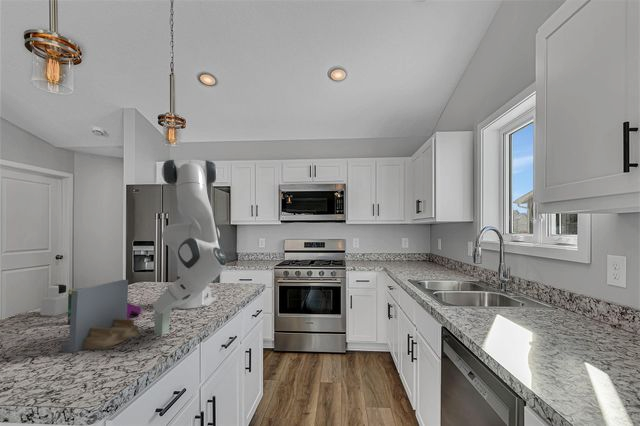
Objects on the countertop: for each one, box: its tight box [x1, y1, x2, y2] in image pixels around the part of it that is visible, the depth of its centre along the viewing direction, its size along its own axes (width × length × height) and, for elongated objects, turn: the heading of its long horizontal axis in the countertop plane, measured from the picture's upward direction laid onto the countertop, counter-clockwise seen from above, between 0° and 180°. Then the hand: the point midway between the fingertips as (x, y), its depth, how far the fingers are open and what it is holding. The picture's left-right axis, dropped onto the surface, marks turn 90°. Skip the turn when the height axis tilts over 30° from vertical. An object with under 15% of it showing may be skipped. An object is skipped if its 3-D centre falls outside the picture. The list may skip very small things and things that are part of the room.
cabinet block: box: [153, 309, 171, 335], centre depth 108 cm, size 4×3×10 cm
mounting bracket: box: [127, 302, 142, 319], centre depth 121 cm, size 10×8×18 cm
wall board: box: [59, 279, 129, 353], centre depth 101 cm, size 20×5×18 cm, turn 172°
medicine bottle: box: [40, 284, 68, 317], centre depth 130 cm, size 7×7×12 cm
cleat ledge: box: [84, 318, 139, 351], centre depth 100 cm, size 14×7×6 cm, turn 172°
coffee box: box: [67, 288, 82, 326], centre depth 118 cm, size 8×3×13 cm, turn 126°
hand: (163, 312), depth 108 cm, fingers open, 8 cm apart
